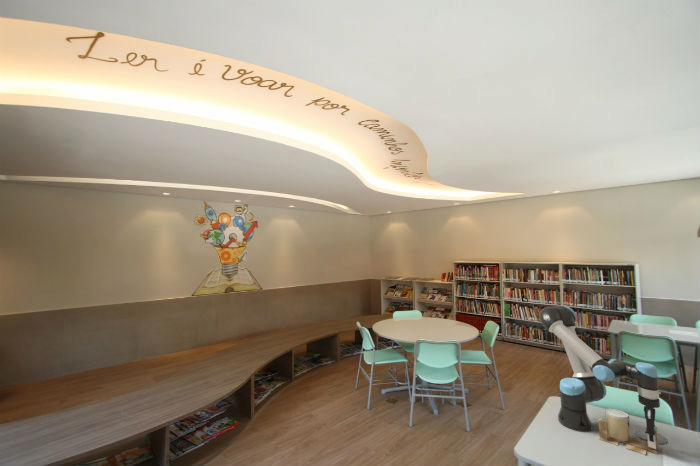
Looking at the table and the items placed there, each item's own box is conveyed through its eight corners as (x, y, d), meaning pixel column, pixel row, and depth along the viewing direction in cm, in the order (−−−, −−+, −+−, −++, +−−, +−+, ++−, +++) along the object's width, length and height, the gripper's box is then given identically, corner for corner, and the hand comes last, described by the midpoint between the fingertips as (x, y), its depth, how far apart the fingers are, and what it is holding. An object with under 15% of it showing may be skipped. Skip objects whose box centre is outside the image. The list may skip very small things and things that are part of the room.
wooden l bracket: (605, 436, 157) (603, 416, 158) (607, 430, 162) (605, 410, 163) (658, 454, 143) (656, 432, 144) (658, 446, 148) (656, 425, 149)
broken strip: (599, 439, 155) (598, 420, 155) (600, 436, 158) (599, 417, 158) (645, 455, 143) (644, 434, 143) (646, 451, 145) (644, 431, 146)
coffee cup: (635, 443, 151) (633, 418, 151) (613, 440, 153) (612, 416, 153) (623, 432, 160) (621, 409, 160) (602, 430, 162) (601, 407, 163)
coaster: (633, 436, 157) (633, 436, 157) (635, 427, 165) (635, 426, 165) (667, 447, 148) (667, 446, 148) (667, 436, 156) (667, 436, 156)
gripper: (659, 405, 140) (663, 457, 139) (659, 393, 152) (663, 441, 150) (636, 399, 146) (640, 449, 144) (639, 388, 157) (642, 435, 156)
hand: (652, 445), depth 147 cm, fingers closed on wooden l bracket, 3 cm apart
